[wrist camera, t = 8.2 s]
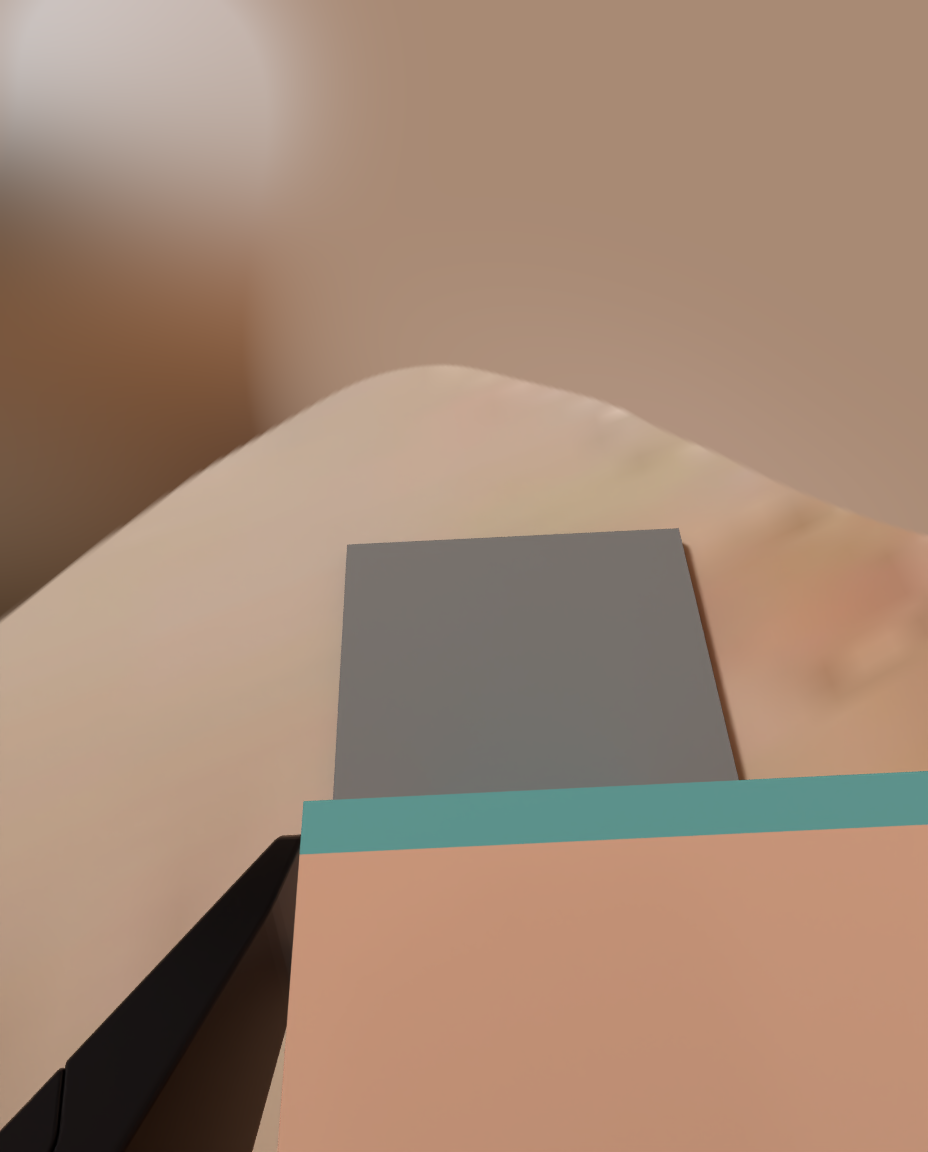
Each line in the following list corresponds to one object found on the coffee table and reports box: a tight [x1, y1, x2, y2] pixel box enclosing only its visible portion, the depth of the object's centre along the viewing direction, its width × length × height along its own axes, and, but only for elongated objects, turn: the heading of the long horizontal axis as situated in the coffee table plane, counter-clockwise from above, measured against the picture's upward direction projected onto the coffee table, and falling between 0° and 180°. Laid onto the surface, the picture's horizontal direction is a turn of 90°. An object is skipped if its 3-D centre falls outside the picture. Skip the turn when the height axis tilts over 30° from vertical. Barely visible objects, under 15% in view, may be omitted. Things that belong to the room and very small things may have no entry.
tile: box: [277, 771, 928, 1152], centre depth 9 cm, size 2×6×12 cm, turn 93°
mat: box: [333, 528, 739, 800], centre depth 17 cm, size 13×12×1 cm
